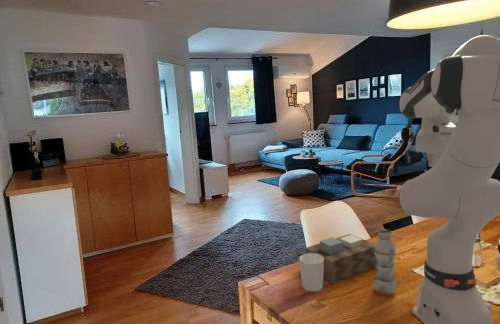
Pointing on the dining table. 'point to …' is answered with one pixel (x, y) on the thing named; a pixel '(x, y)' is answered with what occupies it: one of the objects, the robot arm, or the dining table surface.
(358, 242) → the light beige square block
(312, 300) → the dining table surface
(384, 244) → the plastic bottle
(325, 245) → the blue-grey square block
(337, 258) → the brown rectangular block
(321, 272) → the white cup
